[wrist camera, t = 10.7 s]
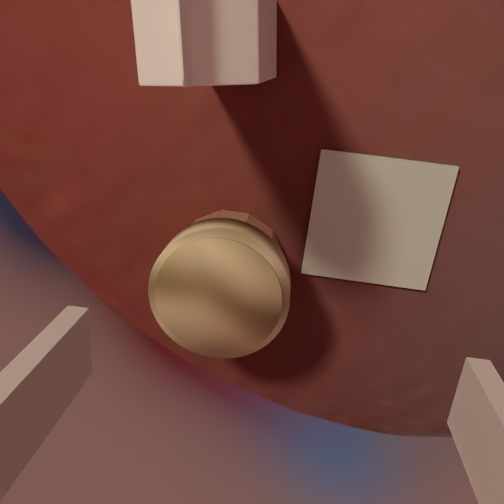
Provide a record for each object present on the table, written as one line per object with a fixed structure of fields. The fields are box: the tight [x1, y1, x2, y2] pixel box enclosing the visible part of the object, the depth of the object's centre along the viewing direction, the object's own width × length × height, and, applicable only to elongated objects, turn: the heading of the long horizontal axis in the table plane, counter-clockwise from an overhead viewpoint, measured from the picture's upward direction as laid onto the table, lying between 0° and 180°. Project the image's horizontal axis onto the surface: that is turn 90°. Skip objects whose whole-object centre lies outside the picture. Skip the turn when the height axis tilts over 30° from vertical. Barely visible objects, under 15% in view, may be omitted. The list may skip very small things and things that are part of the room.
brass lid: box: [148, 218, 291, 359], centre depth 40 cm, size 12×12×4 cm
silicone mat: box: [301, 149, 459, 291], centre depth 44 cm, size 12×12×1 cm
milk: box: [131, 0, 277, 87], centre depth 29 cm, size 6×6×22 cm
